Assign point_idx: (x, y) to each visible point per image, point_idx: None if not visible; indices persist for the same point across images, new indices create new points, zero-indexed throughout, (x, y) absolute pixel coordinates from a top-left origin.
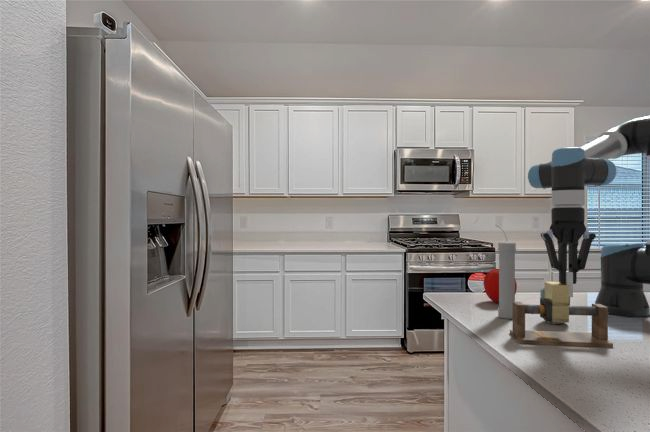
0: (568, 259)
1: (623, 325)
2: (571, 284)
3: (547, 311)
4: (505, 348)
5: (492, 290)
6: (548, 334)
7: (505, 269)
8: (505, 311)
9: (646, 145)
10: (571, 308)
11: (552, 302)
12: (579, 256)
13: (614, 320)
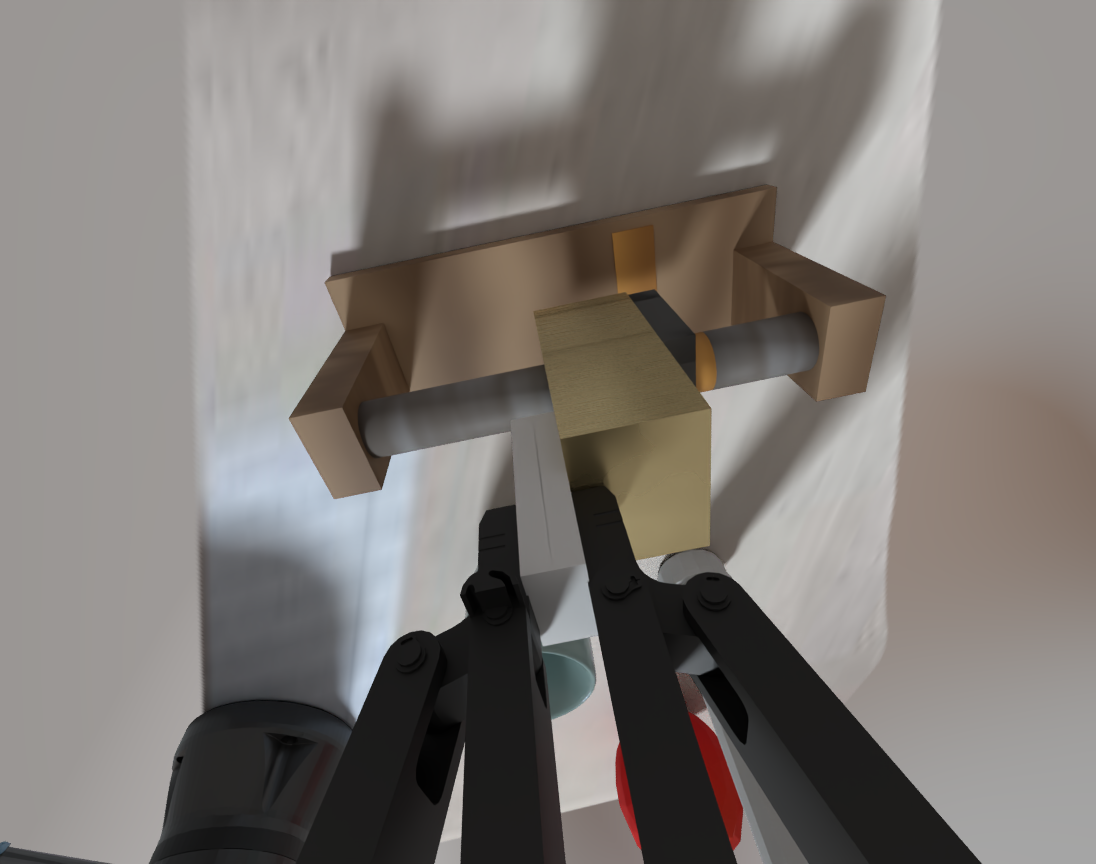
0: (556, 782)
1: (273, 604)
2: (527, 482)
3: (672, 310)
4: (881, 55)
5: (712, 742)
6: None
7: None
8: (713, 570)
9: None
10: (514, 388)
11: (659, 338)
12: (421, 850)
13: (302, 648)
